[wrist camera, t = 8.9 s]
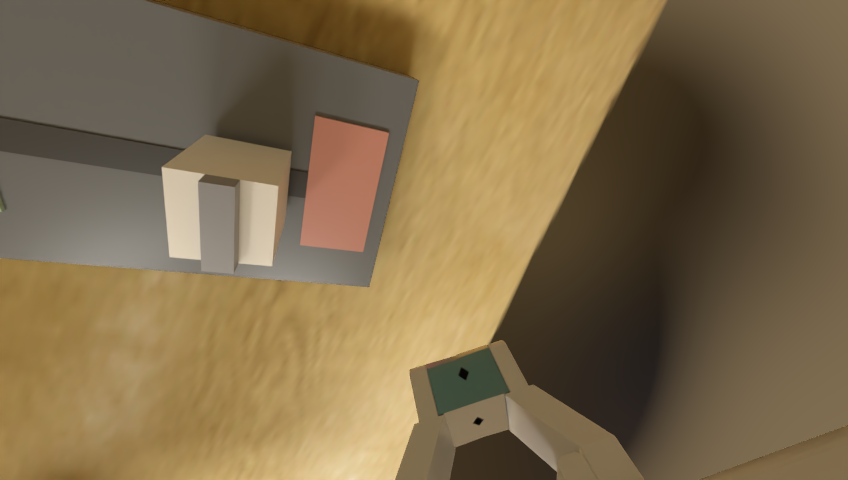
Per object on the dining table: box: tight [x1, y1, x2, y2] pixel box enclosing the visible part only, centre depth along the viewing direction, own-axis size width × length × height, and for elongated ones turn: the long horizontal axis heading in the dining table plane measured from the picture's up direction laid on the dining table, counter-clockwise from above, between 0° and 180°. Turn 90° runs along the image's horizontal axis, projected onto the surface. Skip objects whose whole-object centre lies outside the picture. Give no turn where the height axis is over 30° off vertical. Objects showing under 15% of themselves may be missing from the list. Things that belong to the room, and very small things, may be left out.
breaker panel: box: [0, 0, 419, 287], centre depth 18 cm, size 14×24×3 cm, turn 74°
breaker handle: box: [162, 135, 292, 274], centre depth 16 cm, size 4×4×6 cm
